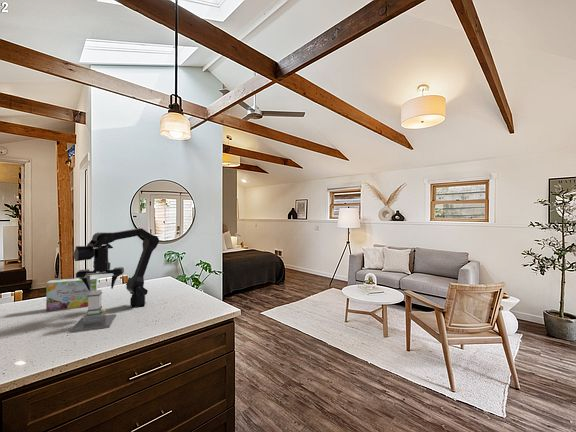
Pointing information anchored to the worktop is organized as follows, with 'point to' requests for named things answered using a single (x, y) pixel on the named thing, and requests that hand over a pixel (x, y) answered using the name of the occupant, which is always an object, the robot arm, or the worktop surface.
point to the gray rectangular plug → (94, 302)
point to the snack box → (68, 293)
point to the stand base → (94, 322)
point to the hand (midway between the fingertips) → (101, 289)
